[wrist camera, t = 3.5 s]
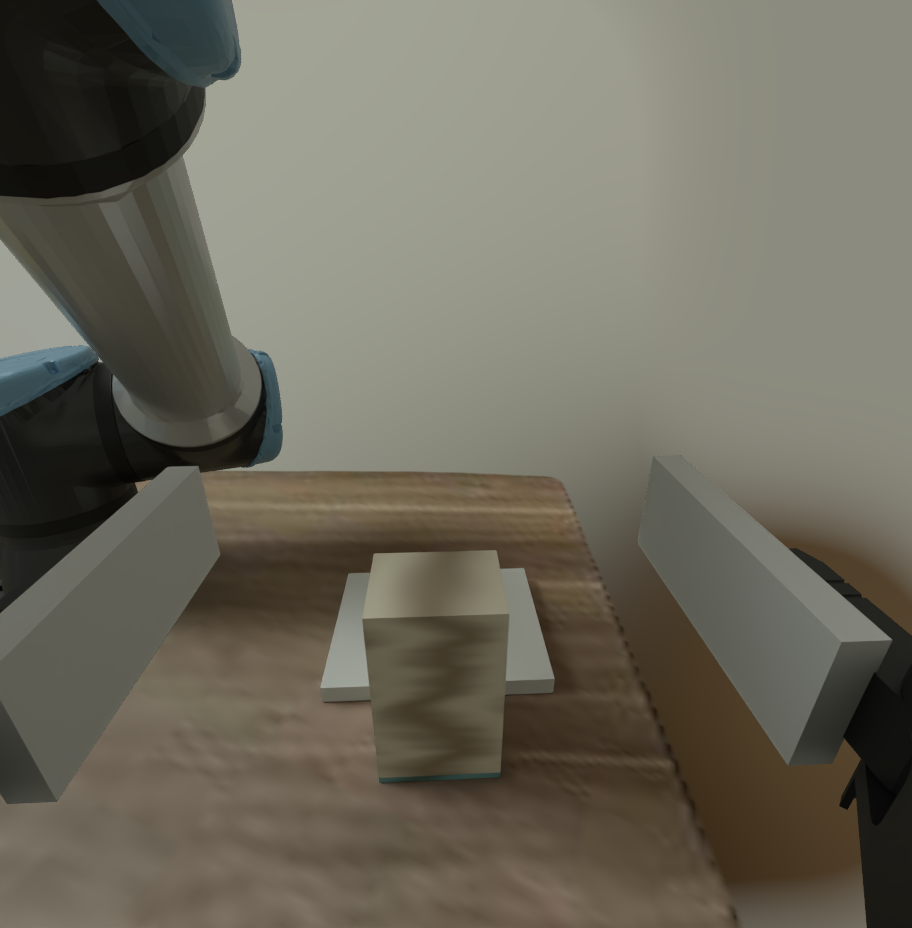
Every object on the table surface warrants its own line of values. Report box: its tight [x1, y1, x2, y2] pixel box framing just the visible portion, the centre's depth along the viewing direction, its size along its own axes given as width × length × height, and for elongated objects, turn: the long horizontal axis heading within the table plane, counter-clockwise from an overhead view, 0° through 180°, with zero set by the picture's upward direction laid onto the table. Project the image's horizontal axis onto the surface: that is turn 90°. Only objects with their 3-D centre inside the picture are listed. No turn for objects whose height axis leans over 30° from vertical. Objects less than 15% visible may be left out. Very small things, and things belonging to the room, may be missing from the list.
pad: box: [320, 568, 555, 702], centre depth 44 cm, size 18×14×2 cm
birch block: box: [362, 550, 509, 783], centre depth 32 cm, size 8×6×14 cm
